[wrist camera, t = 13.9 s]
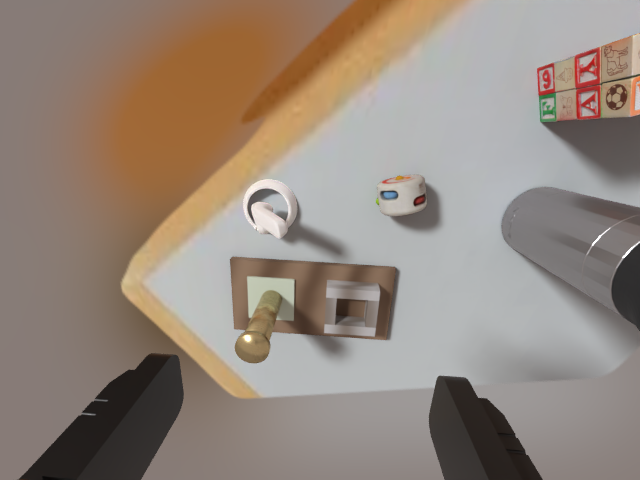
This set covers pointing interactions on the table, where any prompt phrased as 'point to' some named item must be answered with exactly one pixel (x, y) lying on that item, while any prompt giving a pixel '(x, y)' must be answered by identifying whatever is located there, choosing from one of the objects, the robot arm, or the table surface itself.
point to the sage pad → (276, 284)
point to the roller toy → (402, 195)
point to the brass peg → (259, 329)
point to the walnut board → (322, 296)
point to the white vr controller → (270, 209)
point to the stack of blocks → (592, 83)
